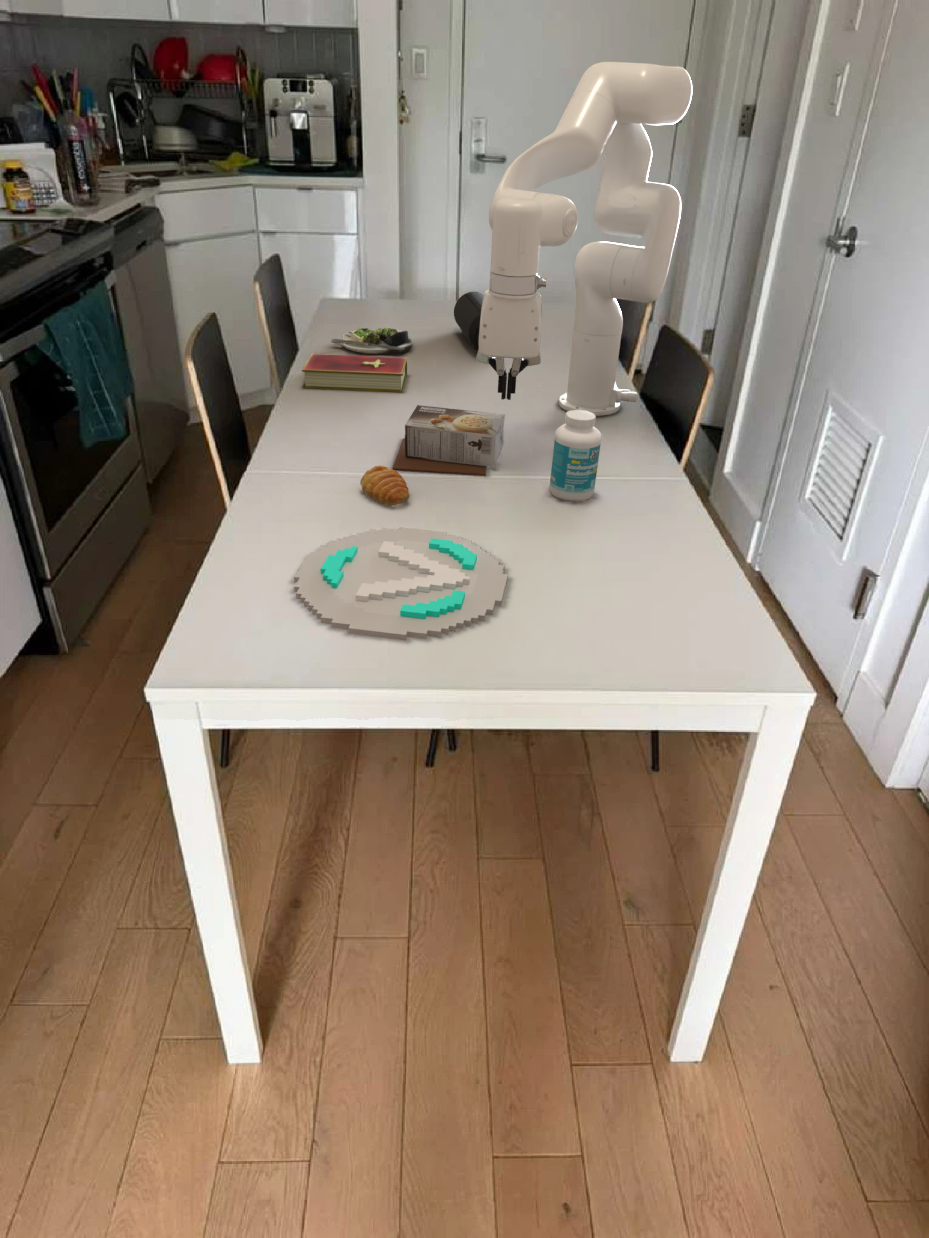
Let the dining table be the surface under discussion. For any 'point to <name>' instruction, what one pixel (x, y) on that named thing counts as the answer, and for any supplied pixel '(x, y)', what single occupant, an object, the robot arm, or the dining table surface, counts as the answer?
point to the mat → (434, 465)
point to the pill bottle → (575, 457)
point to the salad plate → (376, 341)
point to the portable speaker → (469, 316)
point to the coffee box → (454, 435)
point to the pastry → (385, 486)
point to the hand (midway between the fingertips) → (506, 397)
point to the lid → (401, 583)
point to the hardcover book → (355, 373)
